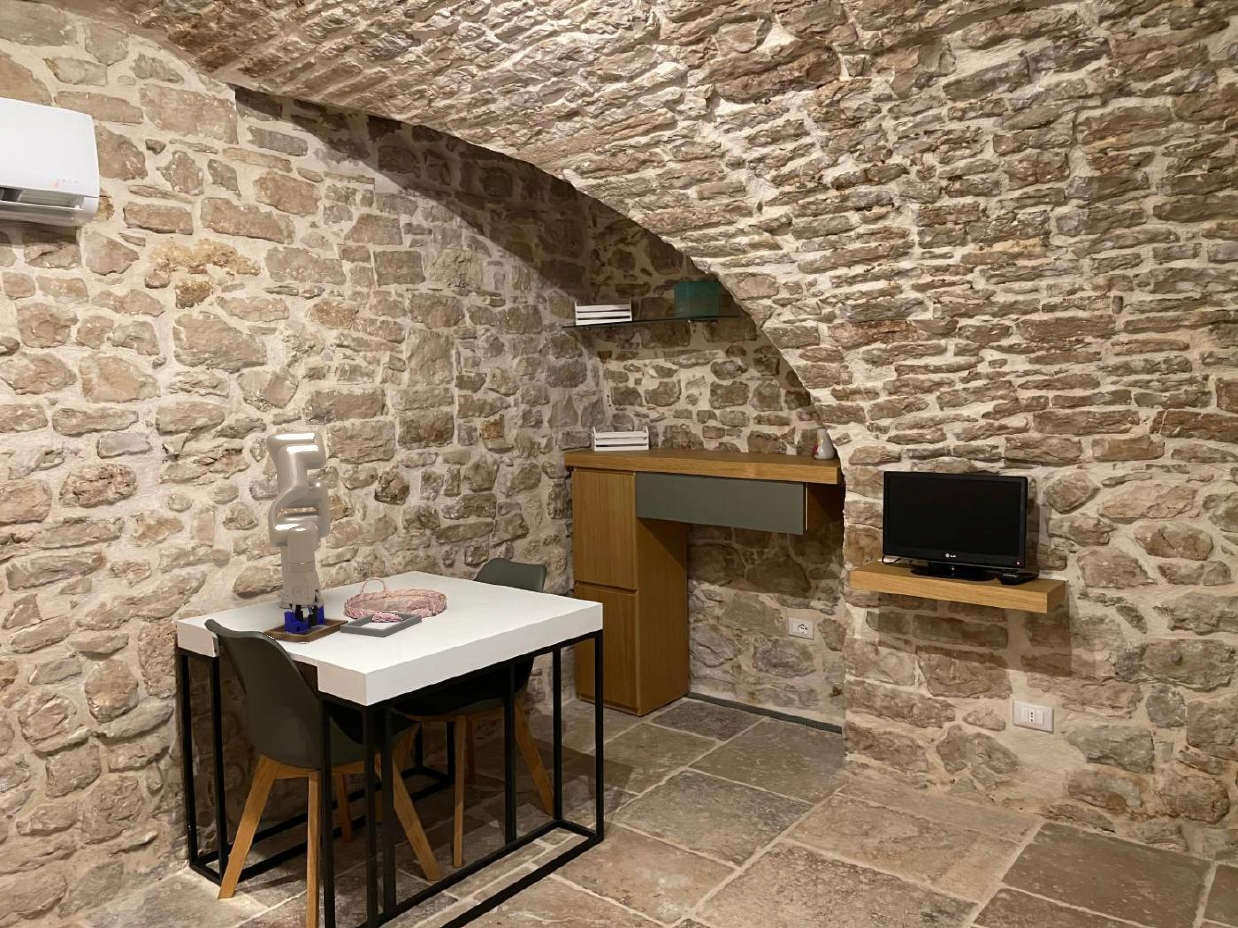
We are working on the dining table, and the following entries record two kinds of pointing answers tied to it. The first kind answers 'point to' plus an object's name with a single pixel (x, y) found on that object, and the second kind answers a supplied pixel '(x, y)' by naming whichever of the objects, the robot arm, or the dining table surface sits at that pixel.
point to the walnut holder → (333, 627)
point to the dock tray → (355, 629)
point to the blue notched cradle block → (296, 627)
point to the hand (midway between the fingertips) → (306, 624)
